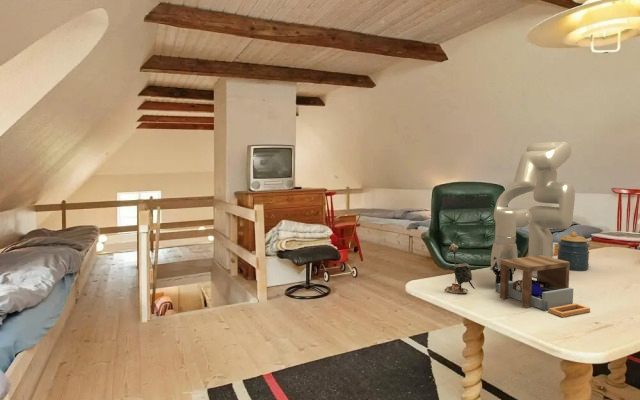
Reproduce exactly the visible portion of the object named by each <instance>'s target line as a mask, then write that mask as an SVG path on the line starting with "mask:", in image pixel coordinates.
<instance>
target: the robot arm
mask: <svg viewBox="0 0 640 400" xmlns="http://www.w3.org/2000/svg"><path fill="white" fill-rule="evenodd" d="M525 150H526V152H524V153H522V154H521V155H520V159H519V161H518V165H517V169H516V173H515V176H514V179H513V182H512V184H511V185H509V186H508V187H507V188H506V189H505V190H504V191H503V192H502V193H501V194H500V195H499V196H498V198H497V200H496V203H495V206H494V210H493V219H494V222H495V228H494V229H495V230H494V234H495V236H494V243H493V244H492V249H491V254H490V255H491V256H490V267H489V270H491V271H492V272H493V273H494V275H495V285H496V284H498V283H500V278H501V260H504V259H513V258H519V257H518V246H517V243H516V241H517V227H518V228H519V227H521V228H524V227H527V226H528V255H527V257H529V256H538V255H542V256H547V257H551V258H553V253H554V251H553V249H554V236H553V234H552V232H551V230H550V229H556V230H567V229H570V227H571V226H572V225H573V218H574V208H575V199H576V198H575V197H576V191H575V188H574V185H572V184H571V183H570V182H564V181H563V182H562V181H561V182H558V181H557V179H558V178H557V177H558V171H557V170H558V169H559V168H560V167H562V165H563V164H564V163H566V162H567V161H568V160H569V158H570V156H571V154H572V146H571V145H570V143H568V142H567V141H545V142H544V141H543V142H534V143H531V144H529V145H528V146H527V147H526V149H525ZM532 191H533V194H532V195H533V199H534V201H535V202H537V203H541V204H553V205H554V204H555V205H558V206H552V205H551V206H550V205H535V206H532V207H530V208H529V209H526V208H518V207H511V206H510V207H509V206H508V205H509V203H510V202H511V201H512V200H513V199H515V198H516V197H519V196H521V195H524V194H526V193H530V192H532ZM499 270H500V271H499ZM516 270H517V269H516V268H513V267H510V266H509V271H510V281H514V274H515V271H516ZM532 278H537V271H532Z"/></svg>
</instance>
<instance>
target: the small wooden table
mask: <svg viewBox="0 0 640 400" xmlns="http://www.w3.org/2000/svg"><path fill="white" fill-rule="evenodd" d="M509 266H510V267H513V268H516V270H521V271H522V279H523V287H522V301H521V307H523V308H525V309H529V308H532V305H531V291H532V280H533V277H532V271H537V277H536V280H537V281H542V282H548V283H550V285H549V286H552V287H556V288H559V289H565V288H570V270H569V268H570V262H568V261H563V260H559V259H557V258H555V257H552V258H551V257H547V256H542V255H538V256H529V257H528V256H522V257H518V258H513V259H504V260H501V278H500V293H499V298H500V299H503V300H508V299H509V296H508V289H509V269H510V268H509ZM559 289H558V290H559ZM552 290H554V289H552Z"/></svg>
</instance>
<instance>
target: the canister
mask: <svg viewBox="0 0 640 400" xmlns="http://www.w3.org/2000/svg"><path fill="white" fill-rule="evenodd" d="M559 239H560V241H558V242H557V244H558V248H557V258H556V259H559V260H563V261H568V262H570V268H569V271H578V272H580V271H581V272H583V271H588V270H589V267H590V265H589V258H590V251H589V247H591V246H590V244H589V243H588V239H587V238H585V236H582V235H578V234H577V232H576V231H571V233H570V234H566V235H565V234H564V235H563V236H561V237H559Z"/></svg>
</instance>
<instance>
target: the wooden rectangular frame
mask: <svg viewBox="0 0 640 400" xmlns="http://www.w3.org/2000/svg"><path fill="white" fill-rule="evenodd" d="M548 313H549V314H551V315H555V316H556V317H559V318H567V317H572V316H577V315H583V314H589V313H591V308H590V307H588V306H585V305H582V304H580V303H573V304H570V305H564V306H559V307H553V308H549V310H548Z"/></svg>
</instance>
